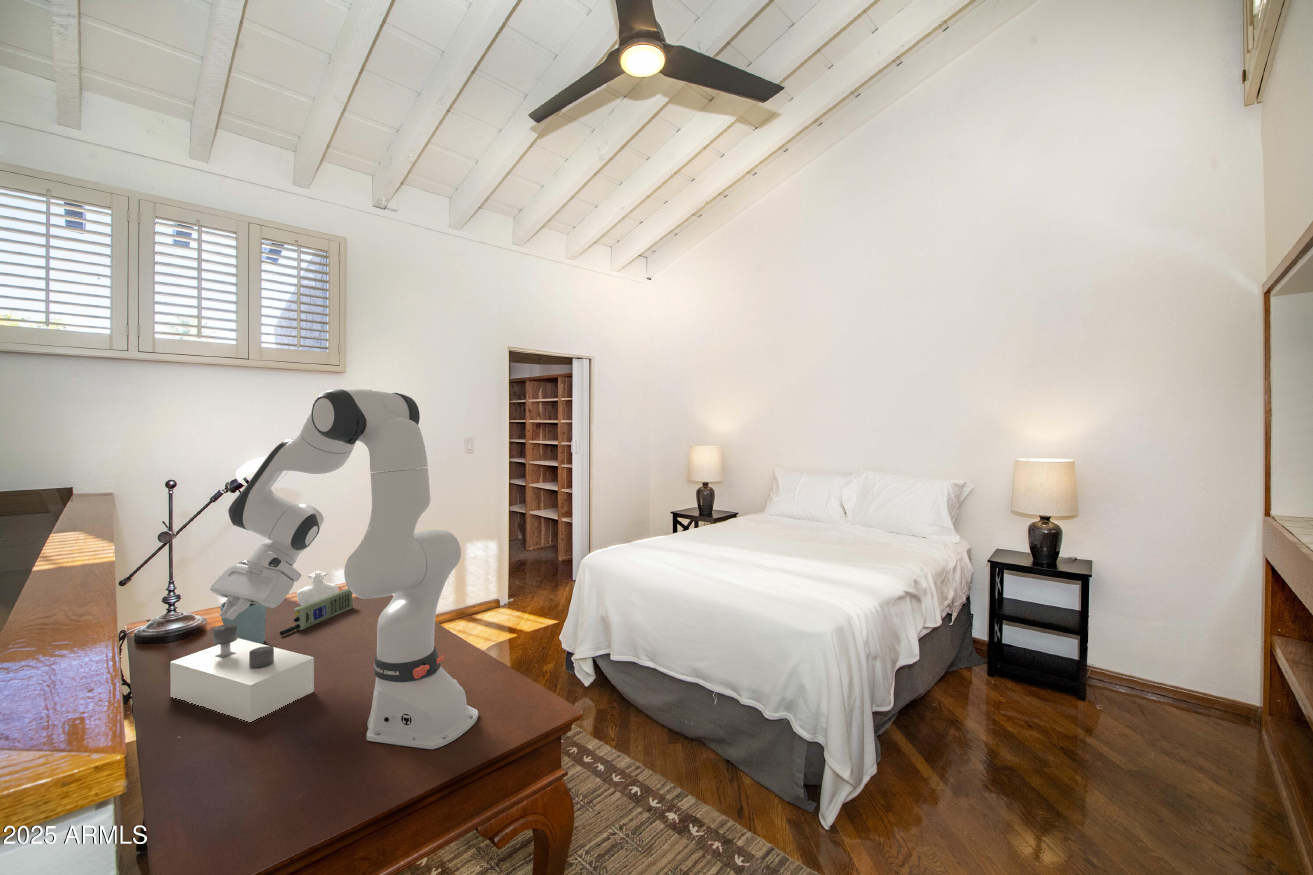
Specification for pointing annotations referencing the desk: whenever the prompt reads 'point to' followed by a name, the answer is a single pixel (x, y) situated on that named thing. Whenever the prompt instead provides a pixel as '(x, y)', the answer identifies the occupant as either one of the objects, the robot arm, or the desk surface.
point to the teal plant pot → (249, 623)
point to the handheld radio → (321, 610)
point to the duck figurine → (316, 589)
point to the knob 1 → (225, 638)
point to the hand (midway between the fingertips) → (225, 617)
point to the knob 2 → (261, 657)
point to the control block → (241, 680)
